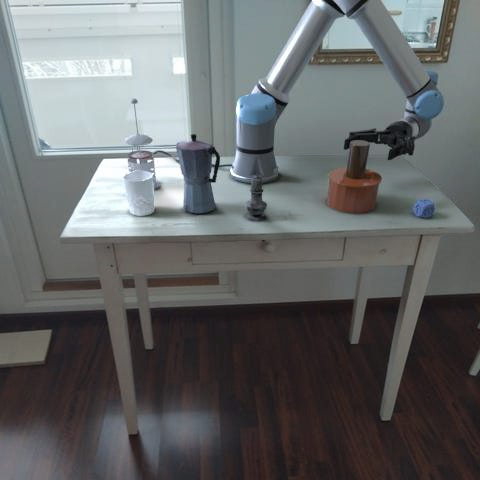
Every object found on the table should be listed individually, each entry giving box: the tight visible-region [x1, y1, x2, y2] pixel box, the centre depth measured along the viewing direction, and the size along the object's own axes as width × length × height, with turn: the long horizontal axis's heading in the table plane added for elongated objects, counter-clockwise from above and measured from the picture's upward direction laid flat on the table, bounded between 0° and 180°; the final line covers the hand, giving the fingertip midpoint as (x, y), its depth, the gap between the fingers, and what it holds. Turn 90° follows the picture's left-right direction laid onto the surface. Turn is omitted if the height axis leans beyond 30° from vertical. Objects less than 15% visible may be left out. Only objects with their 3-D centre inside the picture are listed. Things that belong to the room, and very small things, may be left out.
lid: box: [327, 140, 383, 188], centre depth 131 cm, size 15×15×10 cm
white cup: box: [122, 171, 156, 217], centre depth 131 cm, size 8×8×10 cm
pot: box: [326, 178, 380, 214], centre depth 136 cm, size 14×14×8 cm
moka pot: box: [175, 133, 221, 214], centre depth 129 cm, size 10×15×20 cm, turn 54°
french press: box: [124, 98, 161, 191], centre depth 142 cm, size 10×12×25 cm
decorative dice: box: [413, 198, 436, 219], centre depth 131 cm, size 4×4×4 cm
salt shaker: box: [245, 174, 268, 222], centre depth 128 cm, size 6×6×12 cm
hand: (366, 149), depth 133 cm, fingers open, 13 cm apart
